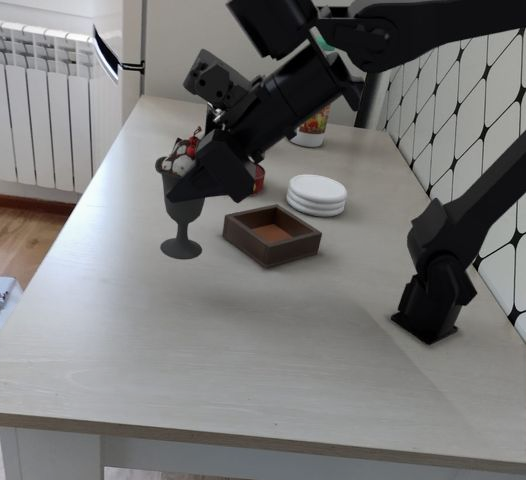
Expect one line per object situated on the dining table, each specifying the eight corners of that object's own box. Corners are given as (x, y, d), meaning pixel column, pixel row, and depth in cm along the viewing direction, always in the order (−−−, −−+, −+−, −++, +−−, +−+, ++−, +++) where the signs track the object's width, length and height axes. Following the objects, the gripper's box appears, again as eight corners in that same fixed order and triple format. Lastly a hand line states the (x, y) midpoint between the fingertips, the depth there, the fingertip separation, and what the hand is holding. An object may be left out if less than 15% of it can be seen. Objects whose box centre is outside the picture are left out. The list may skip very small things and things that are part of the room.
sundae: (195, 269, 66) (206, 137, 57) (142, 252, 67) (145, 120, 58) (218, 246, 71) (232, 120, 62) (169, 230, 73) (175, 105, 63)
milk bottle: (282, 141, 124) (301, 37, 111) (291, 132, 130) (310, 32, 118) (317, 150, 123) (340, 46, 110) (325, 140, 129) (347, 40, 116)
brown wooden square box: (317, 254, 86) (322, 232, 84) (265, 269, 80) (269, 246, 78) (273, 224, 92) (277, 203, 90) (221, 236, 86) (224, 214, 84)
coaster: (296, 217, 95) (300, 197, 93) (278, 191, 102) (282, 172, 100) (352, 218, 98) (357, 199, 96) (330, 193, 106) (335, 174, 103)
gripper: (244, 10, 62) (138, 101, 68) (232, 45, 48) (98, 158, 54) (303, 98, 68) (200, 176, 74) (309, 155, 53) (180, 246, 59)
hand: (173, 186), depth 65 cm, fingers closed on sundae, 6 cm apart
